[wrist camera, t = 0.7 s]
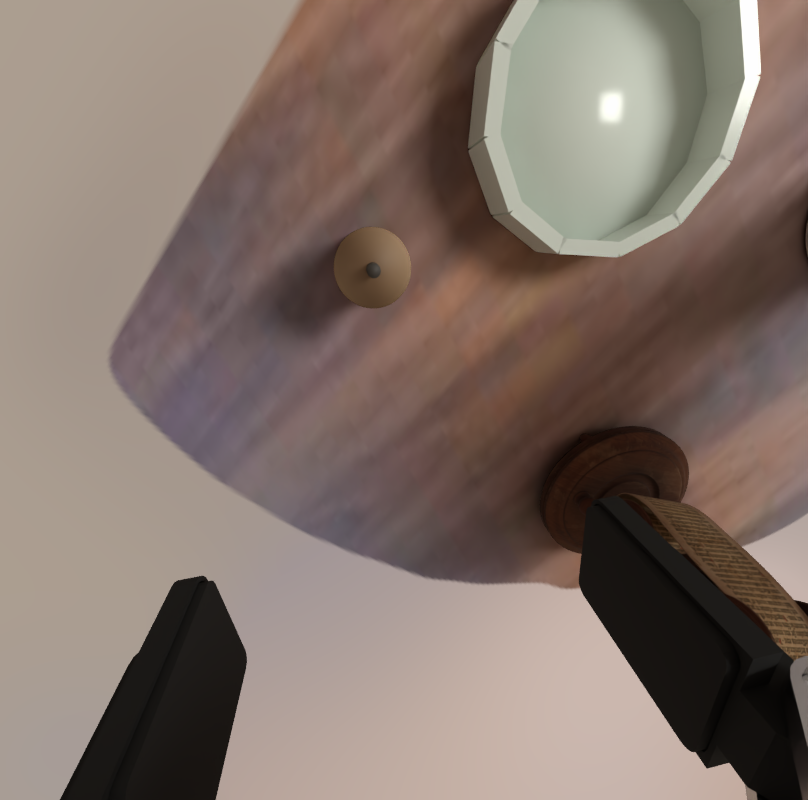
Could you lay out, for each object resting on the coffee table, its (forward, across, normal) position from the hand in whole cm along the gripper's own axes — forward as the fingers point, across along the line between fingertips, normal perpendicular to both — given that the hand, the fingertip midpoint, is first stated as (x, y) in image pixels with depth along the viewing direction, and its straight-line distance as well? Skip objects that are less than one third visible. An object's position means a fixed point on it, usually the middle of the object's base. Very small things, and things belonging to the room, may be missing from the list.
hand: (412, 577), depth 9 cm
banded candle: (+23, -1, -6) cm, 24 cm away
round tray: (+23, -18, -13) cm, 32 cm away
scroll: (+23, -22, +18) cm, 36 cm away
